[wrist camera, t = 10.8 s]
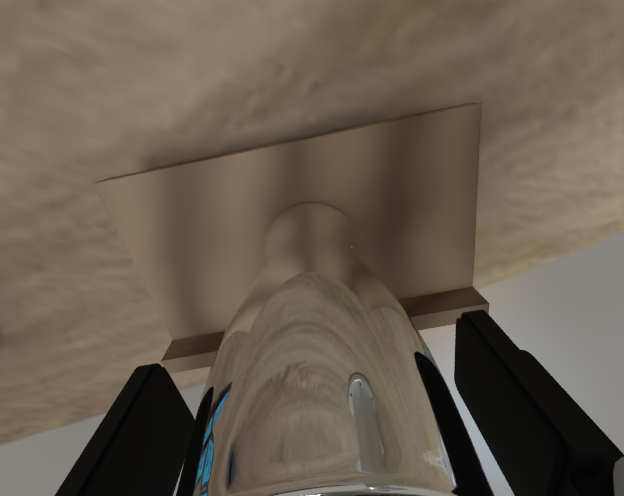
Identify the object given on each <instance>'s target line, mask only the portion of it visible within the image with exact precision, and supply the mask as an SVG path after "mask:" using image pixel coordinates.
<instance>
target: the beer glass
mask: <svg viewBox="0 0 624 496" xmlns="http://www.w3.org/2000/svg"><path fill="white" fill-rule="evenodd" d="M264 259H265V266H264V267H263V269H262V271H261V272H260V274H259V275H258V277H257V278H256V280H255V281H254V282H253V284H252V286H251V287H250V289H249V290H248V292H247V293H246V295H245V296H244V298H243V299H242V301H241V303H240V305H239V307H238V308H237V310H236V312H235V314H234V316H233V318H232V319H231V321H230V323H229V325H228V327H227V329H226V331H225V333H224V336H223V338H222V341H221V343H220V346H219V348H218V351H217V354H216V356H215V359H214V361H213V364H212V366H211V369H210V373H209V376H208V379H207V382H206V385H205V389H204V392H203V395H202V398H201V402H200V405H199V409H198V412H197V415H196V419H195V423H194V426H193V430H192V434H191V438H190V442H189V445H188V449H187V453H186V457H185V461H184V465H183V469H182V473H181V477H180V482H179V486H178V490H177V494H176V496H495V495H494V493H493V491H492V488H491V486H490V484H489V481H488V479H487V477H486V475H485V472H484V470H483V467H482V465H481V463H480V460H479V458H478V455H477V453H476V451H475V448H474V446H473V443H472V441H471V439H470V436H469V434H468V431H467V429H466V427H465V425H464V423H463V420H462V418H461V416H460V413H459V411H458V409H457V407H456V404H455V402H454V400H453V398H452V395H451V393H450V391H449V389H448V386H447V384H446V382H445V380H444V378H443V376H442V374H441V372H440V370H439V368H438V366H437V364H436V362H435V360H434V358H433V356H432V354H431V352H430V350H429V348H428V347H427V345H426V343H425V342H424V340H423V338H422V336H421V335H420V333H419V331H418V330H417V328H416V326H415V325H414V323H413V321H412V319H411V318H410V316H409V315H408V313H407V312H406V311H405V309H404V308H403V307H402V305H401V304H400V303H399V301H398V300H397V299H396V298H395V296H394V295H393V294H392V292H391V291H390V290H389V289H388V287H387V286H386V285H385V284H384V283H383V282H382V281H381V280H380V279H379V277H378V276H377V275H376V274H375V273H374V272H373V271H372V270H371V269H370V268H369V267H368V266H367V265H366V263H365V262H364V261H363V260H362V259H361V258H360V243H359V238H358V234H357V231H356V229H355V227H354V225H353V224H352V222H351V221H350V219H349V218H348V217H347V216H346V215H345V214H343V213H342V212H341V211H339V210H338V209H336V208H334V207H332V206H329V205H326V204H322V203H302V204H298V205H295V206H292V207H290V208H288V209H286V210H285V211H283V212H282V213H281V214H279V215H278V216H277V217H276V218H275V219H274V220H273V222H272V223H271V224H270V226H269V228H268V230H267V232H266V235H265V239H264Z"/></svg>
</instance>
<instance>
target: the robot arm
mask: <svg viewBox="0 0 624 496" xmlns="http://www.w3.org/2000/svg"><path fill="white" fill-rule="evenodd" d="M455 342H456V343H455V371H454V380H455V384H456V387H457V390H458V391H459V394H460V395H461V397H462V399H463V401H464V403H465V405H466V406H467V408H468V410H469V412H470V414H471V416H472V418H473V419H474V421H475V423H476V425H477V427H478V429H479V430H480V432H481V434H482V436H483V438H484V440H485V441H486V443H487V445H488V447H489V449H490V451H491V452H492V454H493V456H494V458H495V460H496V461H497V464H498V465H499V467H500V469H501V471H502V473H503V475H504V476H505V478H506V480H507V482H508V484H509V486H510V487H511V489H512V491H513V493H514V495H515V496H624V454H623V453H622V452H621V451H620V450H619V449H618V448H617V447H616V446H615V444H614V443H613V442H612V441H611V440H610V439H609V438H608V437H607V436H606V435H605V434H604V432H603V431H602V430H601V429H600V428H599V427H598V426H597V425H596V424H595V423H594V422H593V420H592V419H591V418H590V417H589V416H588V415H587V414H586V413H585V412H584V411H583V410H582V409H581V407H579V405H578V404H577V403H576V402H575V401H574V400H573V399H572V398H571V397H570V395H569V394H567V392H566V391H565V390H564V389H563V388H562V387H561V386H560V385H559V384H558V383H557V382H556V380H555V379H554V378H553V377H552V376H551V375H550V374H549V373H548V372H547V371H546V370H545V368H544V367H543V366H542V365H541V364H540V363H539V362H538V361H537V360H536V359H535V357H534V356H532V355H531V354H530V353H529V352H527V351H525V350H520V349H519V348H518V347H517V346H516V345H515V344H514V343H513V342H512V340H511V339H510V338H509V337H508V336H507V335H506V334H505V333H504V332H503V330H502V329H501V328H500V327H499V326H498V325H497V324H496V323H495V321H494V320H493V319H492V318H491V317H490V316H489V314H488V313H487V312H486V311H484V310H482V309H480V310H474V311H468V312H463V313H462V314H461V318H457V319H456V339H455ZM194 423H195V419H194V417H193V415H192V413H191V412H190V410H189V408H188V406H187V405H186V403H185V401H184V400H183V398H182V396H181V394H180V392H179V391H178V389H177V387H176V385H175V384H174V382H173V380H172V378H171V377H170V375H169V373H168V372H167V370H166V368H164V367H161V365H160V364H158V363H157V364H150V365H144V366H139V367H137V368H136V369H135V370H134V372H133V374H132V375H131V377H130V378H129V380H128V381H127V383H126V385H125V386H124V388H123V389H122V391H121V392H120V394H119V395H118V397H117V399H116V400H115V402H114V403H113V405H112V406H111V408H110V410H109V411H108V413H107V414H106V416H105V418H104V419H103V421H102V422H101V424H100V425H99V427H98V429H97V430H96V432H95V433H94V435H93V436H92V438H91V440H90V441H89V443H88V444H87V446H86V447H85V449H84V451H83V452H82V454H81V455H80V457H79V458H78V460H77V461H76V463H75V465H74V466H73V468H72V469H71V471H70V472H69V474H68V476H67V477H66V479H65V480H64V482H63V484H62V485H61V486H60V488H59V490H58V491H57V493H56V494H55V496H173V493H174V490H175V487H176V484H177V481H178V478H179V475H180V472H181V469H182V466H183V463H184V460H185V457H186V453H187V449H188V445H189V442H190V438H191V434H192V430H193V426H194Z"/></svg>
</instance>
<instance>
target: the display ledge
mask: <svg viewBox="0 0 624 496" xmlns="http://www.w3.org/2000/svg"><path fill="white" fill-rule="evenodd" d="M480 120H481V103H471V104H462V105H458V106H453V107H448V108H443V109H438V110H434V111H429V112H424V113H419V114H414V115H410V116H405V117H400V118H395V119H390V120H386V121H381V122H376V123H371V124H366V125H362V126H357V127H352V128H347V129H342V130H337V131H333V132H328V133H323V134H318V135H313V136H309V137H304V138H299V139H294V140H289V141H285V142H280V143H275V144H270V145H265V146H261V147H256V148H251V149H246V150H241V151H237V152H232V153H227V154H222V155H217V156H213V157H208V158H203V159H198V160H193V161H189V162H184V163H179V164H174V165H169V166H165V167H160V168H155V169H150V170H145V171H141V172H136V173H131V174H126V175H121V176H117V177H112V178H108V179H105V180H102V181H99V182H96V183H93V185H94V187H95V189H96V191H97V193H98V195H99V197H100V199H101V201H102V203H103V205H104V207H105V209H106V211H107V213H108V215H109V217H110V219H111V220H112V222H113V224H114V226H115V228H116V230H117V232H118V234H119V236H120V238H121V240H122V242H123V244H124V246H125V248H126V250H127V252H128V254H129V256H130V258H131V260H132V262H133V264H134V266H135V268H136V269H137V271H138V273H139V275H140V277H141V279H142V281H143V283H144V285H145V287H146V289H147V291H148V293H149V295H150V297H151V299H152V301H153V303H154V305H155V307H156V309H157V311H158V313H159V315H160V317H161V318H162V320H163V322H164V324H165V326H166V328H167V330H168V332H169V334H170V336H171V338H172V340H173V341H172V342H171V344H170V346H169V348H168V349H167V351H166V353H165V355H164V357H163V358H162V360H161V362H162V364H163V366H164V367H165V368H166V370H167V372H168V373H175V372H181V371H186V370H192V369H198V368H204V367H209V366H212V364H213V361H214V359H215V356H216V354H217V351H218V348H219V346H220V343H221V341H222V338H223V336H224V333H225V331H226V329H227V327H228V325H229V323H230V321H231V319H232V318H233V316H234V314H235V312H236V310H237V308H238V307H239V305H240V303H241V301H242V299H243V298H244V296H245V295H246V293H247V292H248V290H249V289H250V287H251V286H252V284H253V282H254V281H255V280H256V278H257V277H258V275H259V274H260V272H261V271H262V269H263V267H264V266H265V259H264V239H265V235H266V232H267V230H268V228H269V226H270V224H271V223H272V222H273V220H274V219H275V218H276V217H277V216H278V215H279V214H281V213H282V212H283V211H285V210H286V209H288V208H290V207H292V206H295V205H298V204H302V203H322V204H326V205H329V206H332V207H334V208H336V209H338V210H339V211H341V212H342V213H343V214H345V215H346V216H347V217H348V218H349V219H350V221H351V222H352V224H353V225H354V227H355V229H356V231H357V234H358V238H359V243H360V258H361V259H362V260H363V261H364V262H365V263H366V265H367V266H368V267H369V268H370V269H371V270H372V271H373V272H374V273H375V274H376V275H377V276H378V277H379V279H380V280H381V281H382V282H383V283H384V284H385V285H386V286H387V287H388V289H389V290H390V291H391V292H392V294H393V295H394V296H395V298H396V299H397V300H398V301H399V303H400V304H401V305H402V307H403V308H404V309H405V311H406V312H407V313H408V315H409V316H410V318H411V319H412V321H413V323H414V325H415V326H416V328H417V330H423V329H428V328H434V327H440V326H446V325H452V324H456V319H457V318H461V314H462V313H463V312H468V311H474V310H480V309H482V310H484V311H486V312H487V313H488V311H489V303H488V302H487V301H486V300H485V299H484V298H483V297H482V296H481V295H480V294H479V293H478V292H477V291H476V290H475V289H474V288H473V268H474V247H475V226H476V204H477V183H478V162H479V141H480Z"/></svg>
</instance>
